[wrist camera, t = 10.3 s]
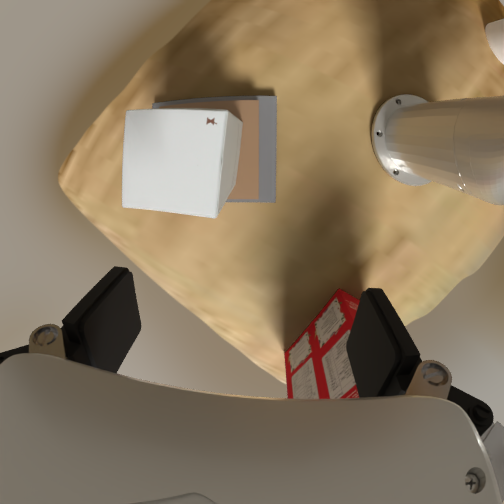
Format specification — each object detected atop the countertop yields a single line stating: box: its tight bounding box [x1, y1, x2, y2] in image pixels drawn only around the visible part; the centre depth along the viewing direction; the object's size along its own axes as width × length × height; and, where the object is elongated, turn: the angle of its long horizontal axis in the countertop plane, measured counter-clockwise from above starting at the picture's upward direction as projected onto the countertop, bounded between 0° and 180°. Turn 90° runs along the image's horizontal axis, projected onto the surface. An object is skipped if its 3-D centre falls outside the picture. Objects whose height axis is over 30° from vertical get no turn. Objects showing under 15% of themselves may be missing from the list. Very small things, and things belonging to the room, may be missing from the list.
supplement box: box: [122, 108, 243, 218], centre depth 23 cm, size 7×7×13 cm
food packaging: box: [284, 289, 360, 399], centre depth 31 cm, size 15×5×25 cm, turn 150°
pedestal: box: [152, 96, 277, 202], centre depth 31 cm, size 15×13×4 cm
